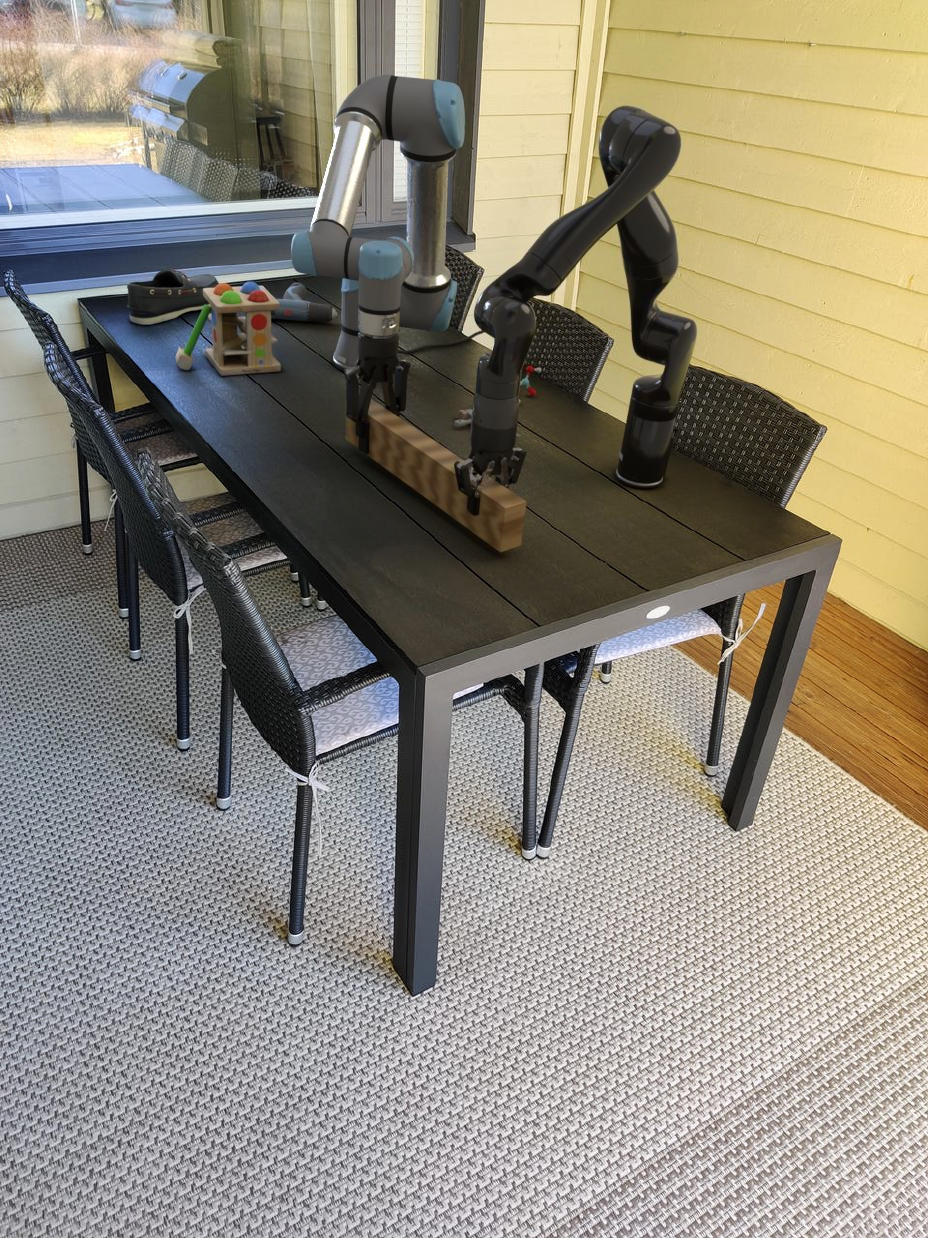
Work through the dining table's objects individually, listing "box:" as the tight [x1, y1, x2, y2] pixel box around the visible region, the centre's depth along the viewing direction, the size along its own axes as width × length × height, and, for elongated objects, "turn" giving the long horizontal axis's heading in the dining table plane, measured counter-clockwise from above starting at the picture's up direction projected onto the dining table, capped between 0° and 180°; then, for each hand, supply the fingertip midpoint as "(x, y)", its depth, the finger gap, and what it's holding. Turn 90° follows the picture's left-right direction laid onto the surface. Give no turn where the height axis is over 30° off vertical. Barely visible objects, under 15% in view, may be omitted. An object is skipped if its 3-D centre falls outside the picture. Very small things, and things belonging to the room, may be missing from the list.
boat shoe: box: [126, 268, 220, 325], centre depth 258 cm, size 13×33×10 cm, turn 147°
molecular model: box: [519, 365, 542, 405], centre depth 227 cm, size 12×10×10 cm
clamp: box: [454, 408, 522, 440], centre depth 210 cm, size 15×2×10 cm
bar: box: [344, 398, 528, 553], centre depth 179 cm, size 50×5×8 cm, turn 37°
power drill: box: [271, 282, 338, 322], centre depth 265 cm, size 5×19×20 cm
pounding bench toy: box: [174, 281, 282, 377], centre depth 225 cm, size 23×14×18 cm, turn 116°
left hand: (375, 448), depth 193 cm, fingers closed on bar, 5 cm apart
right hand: (485, 509), depth 169 cm, fingers closed on bar, 4 cm apart
